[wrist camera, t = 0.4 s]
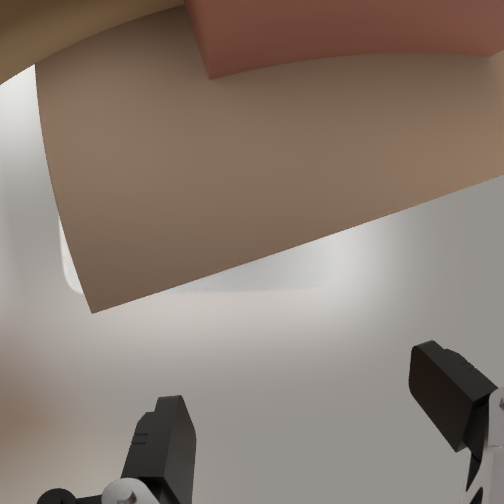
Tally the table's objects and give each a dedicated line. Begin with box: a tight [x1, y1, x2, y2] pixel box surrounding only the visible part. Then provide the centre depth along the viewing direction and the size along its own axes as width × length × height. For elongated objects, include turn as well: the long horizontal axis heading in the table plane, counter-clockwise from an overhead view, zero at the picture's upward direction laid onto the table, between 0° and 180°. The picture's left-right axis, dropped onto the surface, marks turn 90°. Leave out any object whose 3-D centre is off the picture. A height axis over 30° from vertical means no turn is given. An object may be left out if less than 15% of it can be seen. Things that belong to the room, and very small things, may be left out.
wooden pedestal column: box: [35, 5, 504, 313], centre depth 20 cm, size 11×10×32 cm
